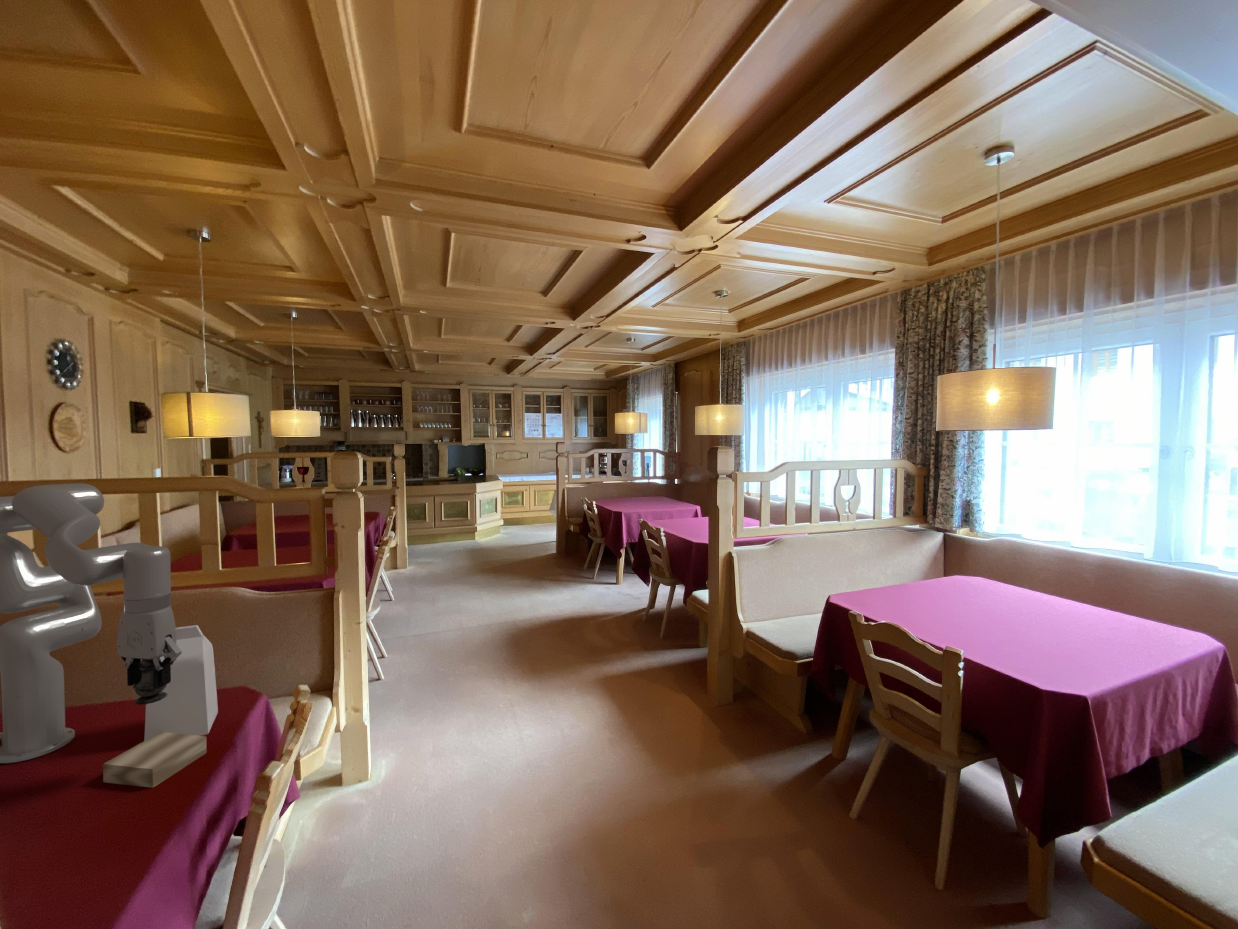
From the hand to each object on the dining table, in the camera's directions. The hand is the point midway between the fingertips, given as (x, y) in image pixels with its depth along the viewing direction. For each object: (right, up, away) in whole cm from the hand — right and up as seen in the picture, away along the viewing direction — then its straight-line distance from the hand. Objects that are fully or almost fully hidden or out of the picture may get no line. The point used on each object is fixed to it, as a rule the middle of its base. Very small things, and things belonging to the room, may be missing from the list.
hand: (149, 683), depth 110 cm
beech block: (0, -19, +2) cm, 20 cm away
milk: (-7, -19, +17) cm, 26 cm away
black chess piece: (0, -4, +1) cm, 4 cm away
